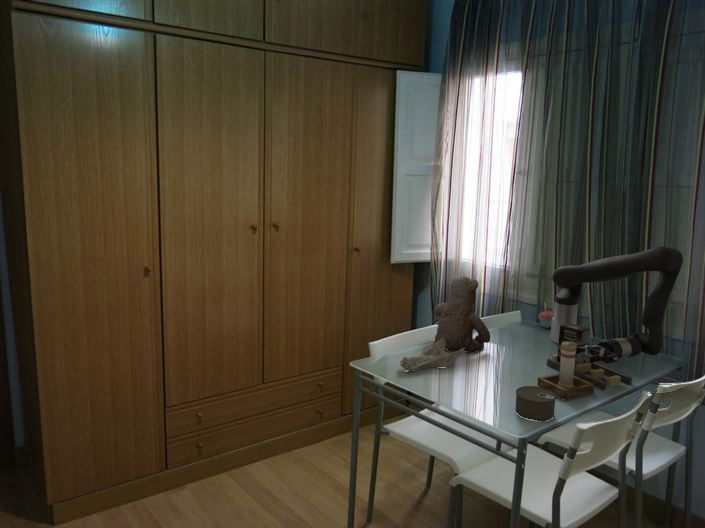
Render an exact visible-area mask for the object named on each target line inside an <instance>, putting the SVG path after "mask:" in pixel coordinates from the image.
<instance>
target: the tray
mask: <svg viewBox="0 0 705 528" xmlns="http://www.w3.org/2000/svg"><path fill="white" fill-rule="evenodd" d="M559 374H560V372H559V373H554V374H550V375H545V376H544V375H543V376H540V377H537V386H539V387H542V388H545V389H548V390H550V391H552V392H554V393H555V394H556V397H557V396H558V397H557V398H559V397H560V398H559V399H561V398H562V399H561V400H563V399H564V400H563V401H565V400H566V401H569V400H568V399H570V400H574V399H573V398H575V399H578V398H577V397H579V398H583V397H582V396H584V397H588V396H590V395H592V396H593V395H594V394H595V388H596V387H595V385H594V384H591V383H589V382H587V381H585V380H583V379H580V378H578V377H576V376H574V378H573V388H570V389H564V388H562V387H560V386H558V382H559ZM537 386H536V387H537ZM587 395H588V396H587Z"/></svg>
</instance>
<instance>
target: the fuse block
mask: <svg viewBox="0 0 705 528" xmlns="http://www.w3.org/2000/svg"><path fill="white" fill-rule="evenodd" d="M557 354H558V353H555V354H552V355H551V356H552V357H551V358H547V360H546V366H548V367H551V368H553V369H554V370H557V371H559V370H560V363H559V362H557ZM586 373H590V374H586ZM604 375H605V376H606V382H605V381H603V380H601V379H604V378H605V376H604ZM574 376H576V377H578V378H580V379H583V380H585V381H587V382H589V383H591V384H594V385H595V387H594V388H597V389H600V390H602V391H607V387H608V388H612V387H617V386H620V385H621V382H622V383H623V382H624V384H625V385H632V380H633V378H632V376H629V375H626V374H625V373H621V372H619V371H617V370H614V369H612V368H611V367H610V368H609V367H607V366H604V365H602V364H599V363H598V362H594V363H591V362H589V359H588V358H586V363H584V364H579V365H576V369H574Z"/></svg>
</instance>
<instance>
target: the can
mask: <svg viewBox="0 0 705 528" xmlns="http://www.w3.org/2000/svg"><path fill="white" fill-rule="evenodd" d="M515 394H516V395H515V410H516V412H517V413H518V414H519V415H520V416H522V417H524V418H528V419H533V420H537V421H546V420H549V419H551V418H552V417H553V415H554V416H555V408H556V400H557V396H556V394H555V393H554V392H552V391H550V390H548V389H545V388H542V387H537V386H534V385H525V386H521V387H518V388H516V390H515Z"/></svg>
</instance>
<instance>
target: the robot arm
mask: <svg viewBox="0 0 705 528" xmlns="http://www.w3.org/2000/svg"><path fill="white" fill-rule="evenodd" d="M683 262H684V256H683V254H682V253H681V251H679V250H678V249H677V248H676V249H675V248H672V247H668V246H663V245H662V246H656V247H651V248H649V249H646V250H643V251H639V252H636V253H628V254H622V255H621V254H620V255H614V256H610V257H605V258H601V259H600V258H599V259H596V260H593V261H590V262H587V263H583V264H580V265H575V264H569V265H562V266H559V267H558V268H556V269H555V270H554V272H553V273H552V276H551V277H552V282H553V284H555V286H556V287H559V288H561V289H560V291H559V292H558V293H557V294H556V295H555V298H554V308H553V309H554V310H553V313H554V318H552V323H551V328H550V337H549V338H550V340H551V341H552V342H553V343H555V344H558V343H559V332H560V325H562V324H566V323H571V324H575V325H577V319H578V307H579V306H578V305H579V299H580V298H581V294H582V291H583V284H586V283H588V284H589V283H604V282H612V281H619V280H623V279H626V278H628V277H631V276H632V275H634V274H637V273H645V272H658V277H657V280H656V284H655V286H654V288H653V290H652V291H651V293H650V295H649V296H648V298H647V299H646V302H645V304H644V308H643V313H642V316H641V321H640V322H641V323H640V324H641V325H642V326H643V327H644V328H646V329H648V333H645V332H635V333H632V334H630V335H629V336H626V337H619V338H618V337H617V338H612V339H605V340H602V341H601V340H600V342H599V343H597V344H596V345H591V343H589V342H588V343H583V344H577V348H576V354H585V355H587V357H589V359H588V360H589V362H591V363H594V362H595V363H604V364H606V365H608V364H612V363H616V362H618V361H619V360H623V359H626V358H631V357H635V356H638V355H639V354H640V353H643V354H647V355H649V356H657V355H659V354H660V353H661V352H662V349H663V348H664V336H663V335H664V334H663V333H664V332H663V331H664V330H663V322H664V319H665V316H666V315H665V314H666V311H667V305H668V302H669V298H670V296H671V293H672V292H673V289H674V285H675V284H676V281H677V278H678V276H679V274H680V272H681V269H682V267H683V265H684V264H683ZM582 351H584V352H582ZM588 351H589V353H588Z"/></svg>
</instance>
